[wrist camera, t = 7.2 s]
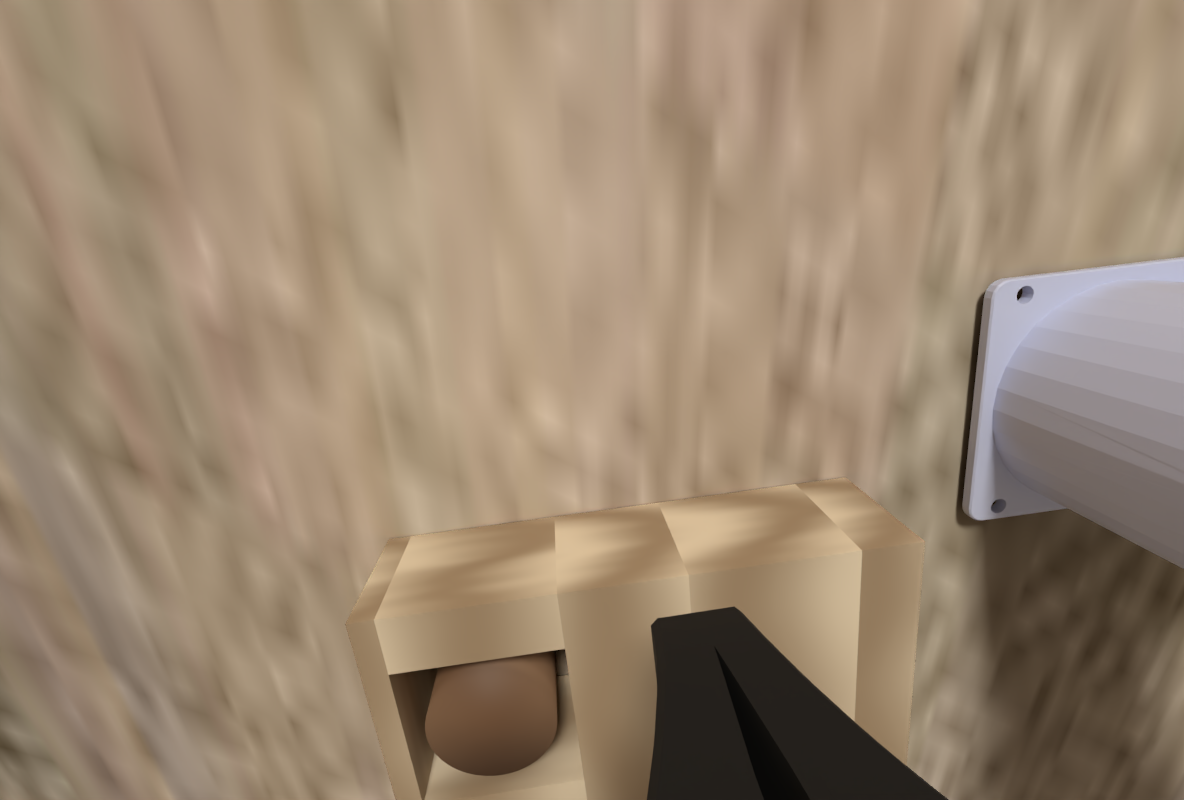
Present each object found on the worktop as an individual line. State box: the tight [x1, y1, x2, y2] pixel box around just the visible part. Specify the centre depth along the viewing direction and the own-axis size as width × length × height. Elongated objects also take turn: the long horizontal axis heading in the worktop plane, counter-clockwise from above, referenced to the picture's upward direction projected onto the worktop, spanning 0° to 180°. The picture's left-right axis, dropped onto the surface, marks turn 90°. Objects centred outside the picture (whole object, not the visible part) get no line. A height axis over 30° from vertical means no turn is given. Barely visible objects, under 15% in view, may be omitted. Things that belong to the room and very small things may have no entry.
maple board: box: [345, 477, 925, 800], centre depth 19 cm, size 15×18×4 cm
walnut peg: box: [425, 650, 557, 776], centre depth 17 cm, size 4×4×4 cm
